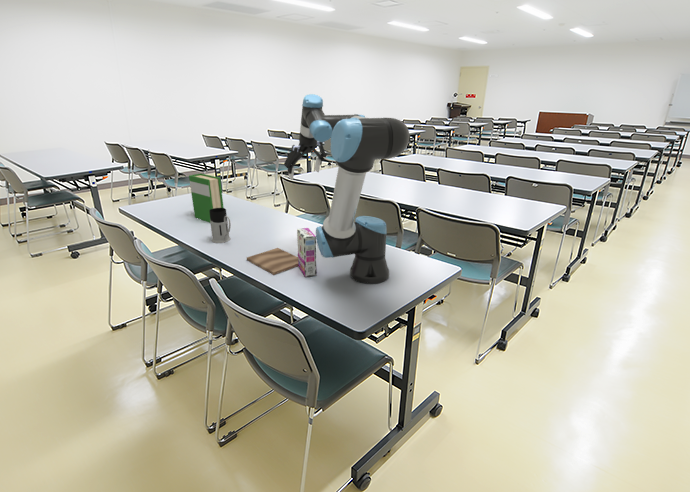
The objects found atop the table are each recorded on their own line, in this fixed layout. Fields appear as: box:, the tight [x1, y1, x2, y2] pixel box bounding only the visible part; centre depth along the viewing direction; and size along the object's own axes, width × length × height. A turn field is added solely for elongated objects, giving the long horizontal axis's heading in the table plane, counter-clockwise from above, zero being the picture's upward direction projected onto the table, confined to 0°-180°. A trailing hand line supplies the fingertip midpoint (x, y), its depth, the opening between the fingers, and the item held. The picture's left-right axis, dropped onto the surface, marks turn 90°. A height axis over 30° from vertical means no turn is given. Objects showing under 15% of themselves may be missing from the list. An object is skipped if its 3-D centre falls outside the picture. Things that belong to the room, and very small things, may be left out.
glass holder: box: [209, 208, 231, 244], centre depth 183 cm, size 9×14×15 cm, turn 47°
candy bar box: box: [296, 227, 317, 278], centre depth 152 cm, size 11×5×16 cm, turn 21°
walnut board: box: [246, 247, 299, 276], centre depth 163 cm, size 20×16×1 cm
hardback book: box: [188, 173, 225, 224], centre depth 213 cm, size 18×7×24 cm, turn 52°
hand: (303, 174), depth 173 cm, fingers open, 13 cm apart
